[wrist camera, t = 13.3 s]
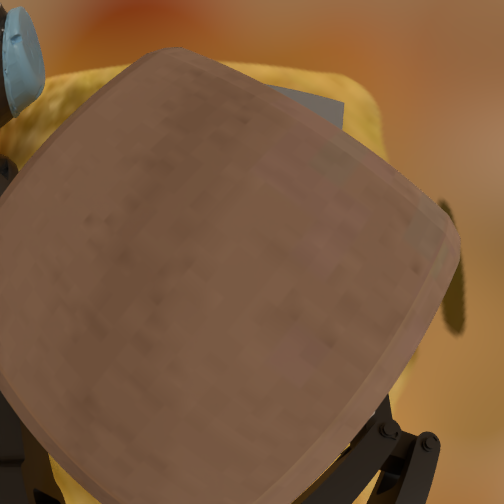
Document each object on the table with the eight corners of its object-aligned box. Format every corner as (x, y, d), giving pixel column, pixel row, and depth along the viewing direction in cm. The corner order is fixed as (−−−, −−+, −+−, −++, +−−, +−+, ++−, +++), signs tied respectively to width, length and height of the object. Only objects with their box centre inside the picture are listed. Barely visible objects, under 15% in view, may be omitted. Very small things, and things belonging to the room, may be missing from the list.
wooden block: (144, 323, 24) (-63, 285, 4) (218, 235, 26) (164, 28, 6) (234, 399, 22) (204, 582, 3) (309, 307, 24) (487, 230, 5)
